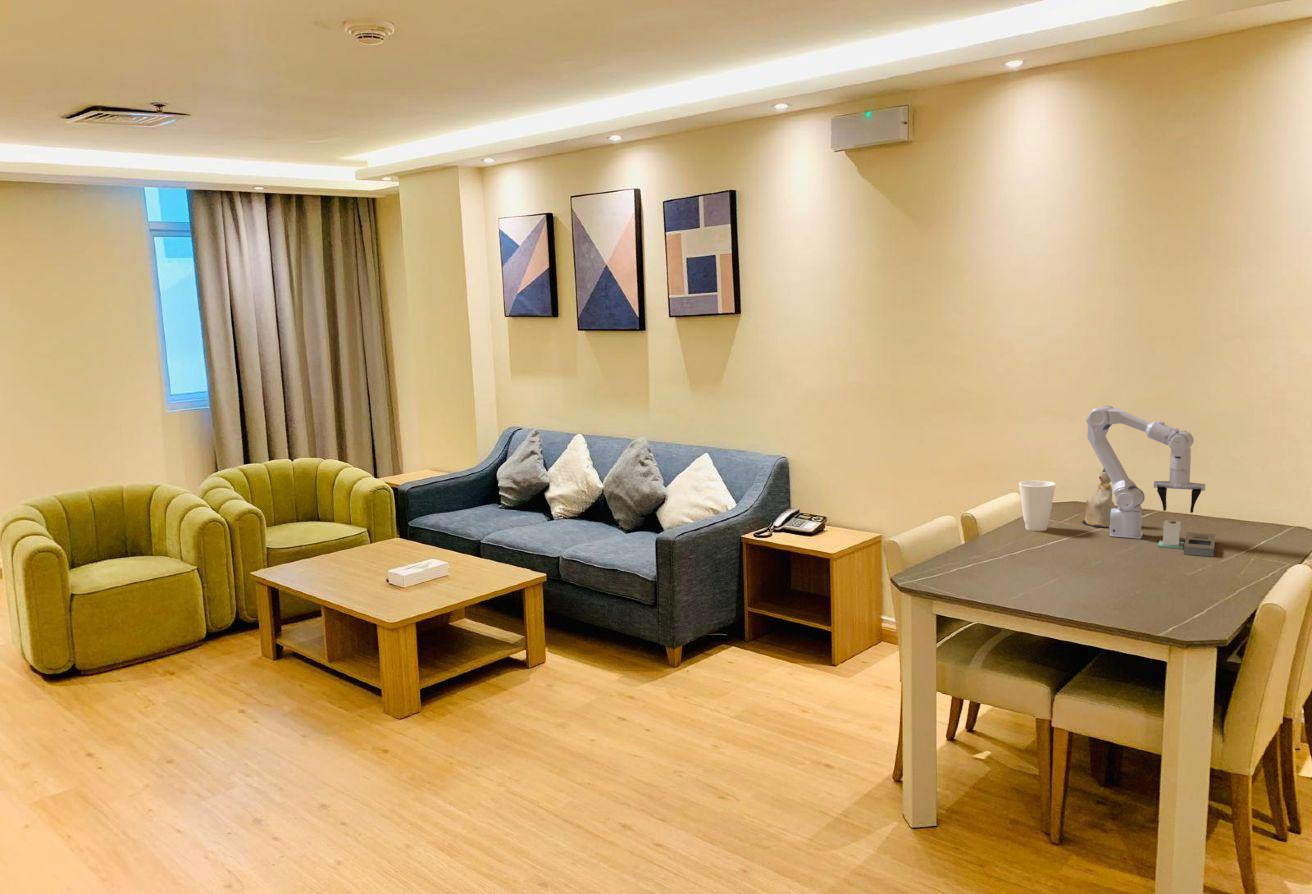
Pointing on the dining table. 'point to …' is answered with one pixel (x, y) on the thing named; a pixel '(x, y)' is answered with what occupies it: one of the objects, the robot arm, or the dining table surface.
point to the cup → (1036, 503)
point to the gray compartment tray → (1199, 544)
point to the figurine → (1100, 504)
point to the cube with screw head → (1171, 533)
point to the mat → (1171, 545)
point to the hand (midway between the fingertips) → (1178, 511)
